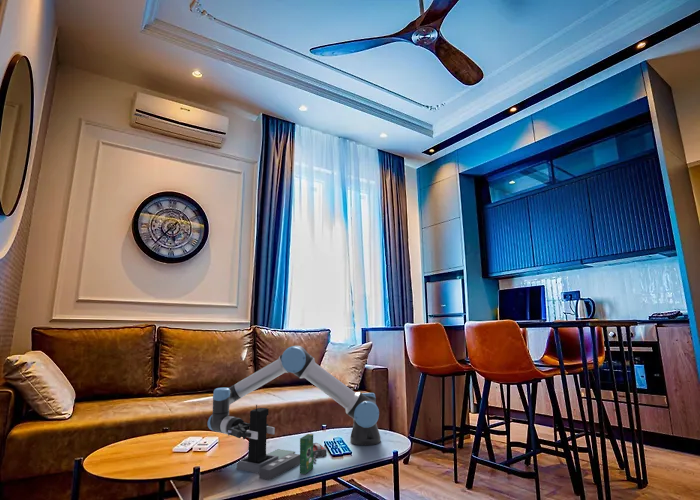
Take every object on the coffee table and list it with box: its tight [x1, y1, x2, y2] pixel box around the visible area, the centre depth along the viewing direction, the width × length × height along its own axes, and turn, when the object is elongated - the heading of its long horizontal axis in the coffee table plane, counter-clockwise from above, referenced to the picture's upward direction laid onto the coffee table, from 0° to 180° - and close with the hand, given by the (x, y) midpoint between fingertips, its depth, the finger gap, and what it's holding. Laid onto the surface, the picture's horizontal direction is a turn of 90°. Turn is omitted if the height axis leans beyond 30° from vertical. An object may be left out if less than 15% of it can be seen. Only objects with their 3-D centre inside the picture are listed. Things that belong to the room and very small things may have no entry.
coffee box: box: [299, 433, 314, 475], centre depth 157 cm, size 8×3×13 cm, turn 162°
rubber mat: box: [267, 448, 296, 459], centre depth 175 cm, size 10×12×1 cm
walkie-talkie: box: [313, 442, 328, 462], centre depth 174 cm, size 9×4×20 cm
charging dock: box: [236, 453, 300, 481], centre depth 160 cm, size 20×20×4 cm
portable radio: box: [247, 404, 270, 464], centre depth 164 cm, size 8×6×25 cm
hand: (265, 433), depth 162 cm, fingers closed on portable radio, 8 cm apart
